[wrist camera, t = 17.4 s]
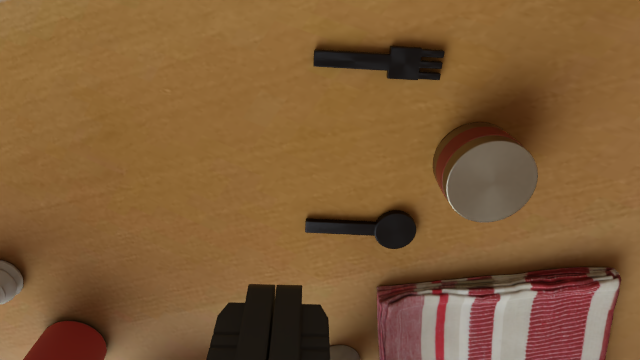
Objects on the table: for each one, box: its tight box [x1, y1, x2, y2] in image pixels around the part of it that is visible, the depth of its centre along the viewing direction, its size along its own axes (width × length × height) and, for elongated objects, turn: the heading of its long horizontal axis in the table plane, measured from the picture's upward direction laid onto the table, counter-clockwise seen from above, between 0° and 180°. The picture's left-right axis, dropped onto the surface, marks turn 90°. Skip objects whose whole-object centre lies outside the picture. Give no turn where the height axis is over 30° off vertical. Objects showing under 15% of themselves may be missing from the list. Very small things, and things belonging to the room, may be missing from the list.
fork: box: [314, 46, 444, 80], centre depth 34 cm, size 10×2×1 cm, turn 87°
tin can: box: [433, 122, 538, 222], centre depth 36 cm, size 7×7×4 cm
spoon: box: [305, 210, 416, 249], centre depth 41 cm, size 10×4×1 cm, turn 87°
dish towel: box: [377, 267, 621, 360], centre depth 46 cm, size 17×23×3 cm
